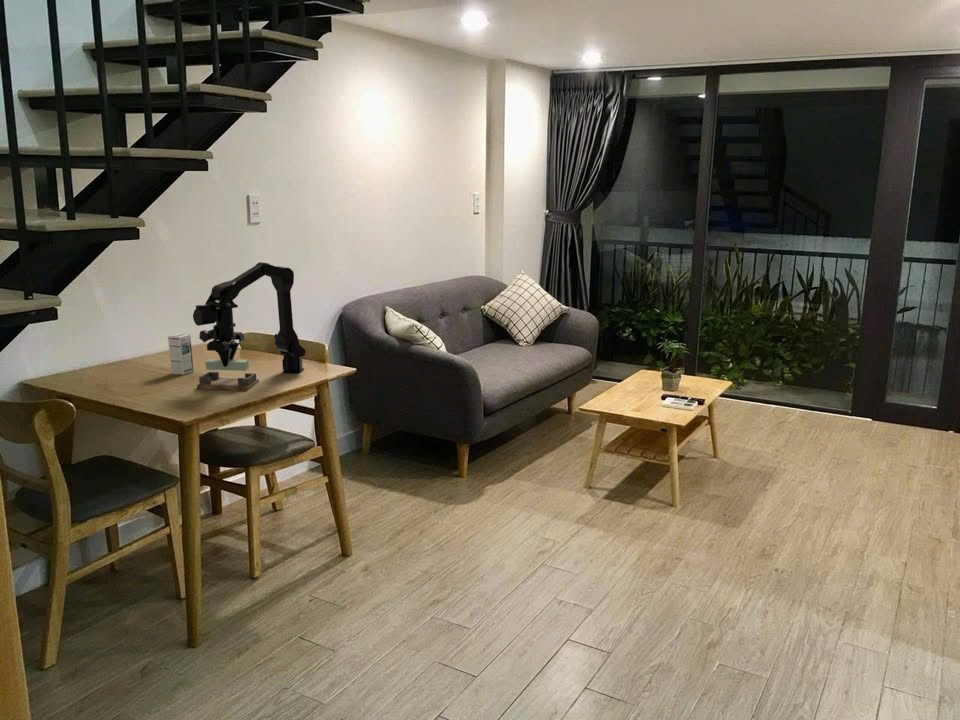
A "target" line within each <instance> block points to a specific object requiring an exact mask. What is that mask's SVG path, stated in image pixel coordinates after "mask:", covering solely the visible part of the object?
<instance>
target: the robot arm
mask: <svg viewBox="0 0 960 720" xmlns="http://www.w3.org/2000/svg"><path fill="white" fill-rule="evenodd" d="M264 276H266V277H269V278H270V279H271V284H272V285H273V287H274V290H275V291H276V296H277V309H278V311H277V312H278V322H279V323H278V324H279V331H278V332H277V333H276V334H275V333H274V339H275V340H274V341H275V342H274V345H275V346H276V349H278V351H279V352H280V355H283V358H282V359H281V361H282V363H281V364H282V373H289V374H291V373H293V374H299V373H301V372H302V371H304V370H305V368H304V367H303V357H305V356H306V349H305V348H304V347H303V346H301V344H300V341H299V337H298V334H297V332H296V331H295V329H294V321H293V308H292V298H291V290H292V289H293V285H294V282H295V281H294V280H295V278H294V277H295V273H294V270H292V268H290V267H284V266H276V265H273V264H270V263H268V262H262V261H260V262H257V263H256V264H255V265H254V266H252V267H251V268H249V269H248V270H246V271H244V272H243V273H241V274H240V275H237V276H236V277H235V278H233V279H231V280H228V281H223V282H221V283H219V284H215V285H214V286H213V287H212V288H211V293H210V294H209V297H208V298H207V300H206V301H205V303H204V304H196V305H195V309H194V311H193V313H192V319H193V322H194V324H195V325H196V326H198V327H199V326H205V325H212V324H214V325H213V327H212V329H210V330H207V329H204V330H203V329H202V330H201V331H199V335H198V336H199V338H198V339H199V340H201V341H202V342H203V343H207V341H209V342H208V343H207V344H206V350H207V351H209V352H211V351H213V352H216V353H217V355H218V356H219V359H221V361H222V364H223V366H224V367H227V365H228V361H229V360H234V358H235V355H236V353H237V351H238V349H239V346H240V344H241V342H243V341H244V340H245V334H244V333H243V332H240V331H235V327H236V326H237V325H236V323H235V322H234V312H233V309H236V308H239V305H238V304H236V303H235V301H234V300H235V299H236V298H237V297H238V296H239V294H240V292H241V291H242V290H244V289H246V288H247V287H248V286H250V285H252V284H254V283H255V282H256V281H258V280H259V279H261V278H263V277H264ZM237 341H239V342H237Z"/></svg>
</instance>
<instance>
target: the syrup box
mask: <svg viewBox="0 0 960 720" xmlns="http://www.w3.org/2000/svg"><path fill="white" fill-rule="evenodd" d="M191 337H192V336H191V333H184V332H183V333H181V332H180V333H176V334H172V335H168V336H167V340H168V341H167V342H168V353H169V361H170V372H171V374H173V375H178V374H182V376H184V374H185V375H187V374H191V373H193V372H194V361H193V360H194V359H193V349H192V338H191Z"/></svg>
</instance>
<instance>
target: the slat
mask: <svg viewBox="0 0 960 720" xmlns="http://www.w3.org/2000/svg"><path fill="white" fill-rule="evenodd" d="M249 367H250V365H249V359H233V360H229V361H228V365H227V367H224V366H223V364H222V361H221V359H220V358H218V359H216V358H209V359H207V360H206V361H205V371H241V372H242V371H247V370H249V369H250V368H249Z"/></svg>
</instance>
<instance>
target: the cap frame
mask: <svg viewBox="0 0 960 720" xmlns="http://www.w3.org/2000/svg"><path fill="white" fill-rule="evenodd" d="M219 373H220V372H219V371H207V372H206V373H204V374H202V375H200V376H199V379H198V380H199V384H197V385H196V389H197V388H198V389H197V390H199V389H200V390H219V389H230V390H229V391H246V390H248V389H249V388H250V389H251V387H252V386H253V387H255V386H256V385H257V384H259V383H260V380H259V378H257V373H255V372H254V373H253V372H252V373H249V372H247V373H246V372H245V373H244V377H238V378H237V377H236V378H235V377H231V378H230V377H220V374H219ZM258 382H259V383H258ZM256 383H257V384H256ZM255 384H256V385H255ZM254 385H255V386H254ZM253 387H252V388H253ZM250 389H249V390H250ZM249 390H248V391H249Z"/></svg>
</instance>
